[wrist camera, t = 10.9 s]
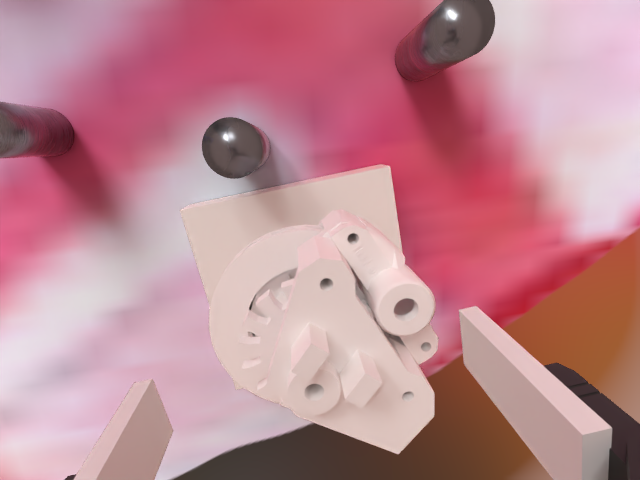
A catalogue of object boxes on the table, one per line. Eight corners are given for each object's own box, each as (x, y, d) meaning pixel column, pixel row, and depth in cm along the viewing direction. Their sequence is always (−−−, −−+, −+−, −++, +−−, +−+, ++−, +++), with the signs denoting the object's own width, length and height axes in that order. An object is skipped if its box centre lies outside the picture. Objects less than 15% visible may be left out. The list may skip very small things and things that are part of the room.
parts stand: (190, 204, 26) (179, 210, 23) (380, 164, 26) (390, 165, 23) (240, 369, 29) (235, 390, 27) (406, 333, 30) (416, 349, 27)
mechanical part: (192, 270, 24) (104, 383, 13) (339, 169, 23) (385, 193, 12) (288, 384, 27) (286, 558, 16) (423, 299, 26) (524, 418, 15)
